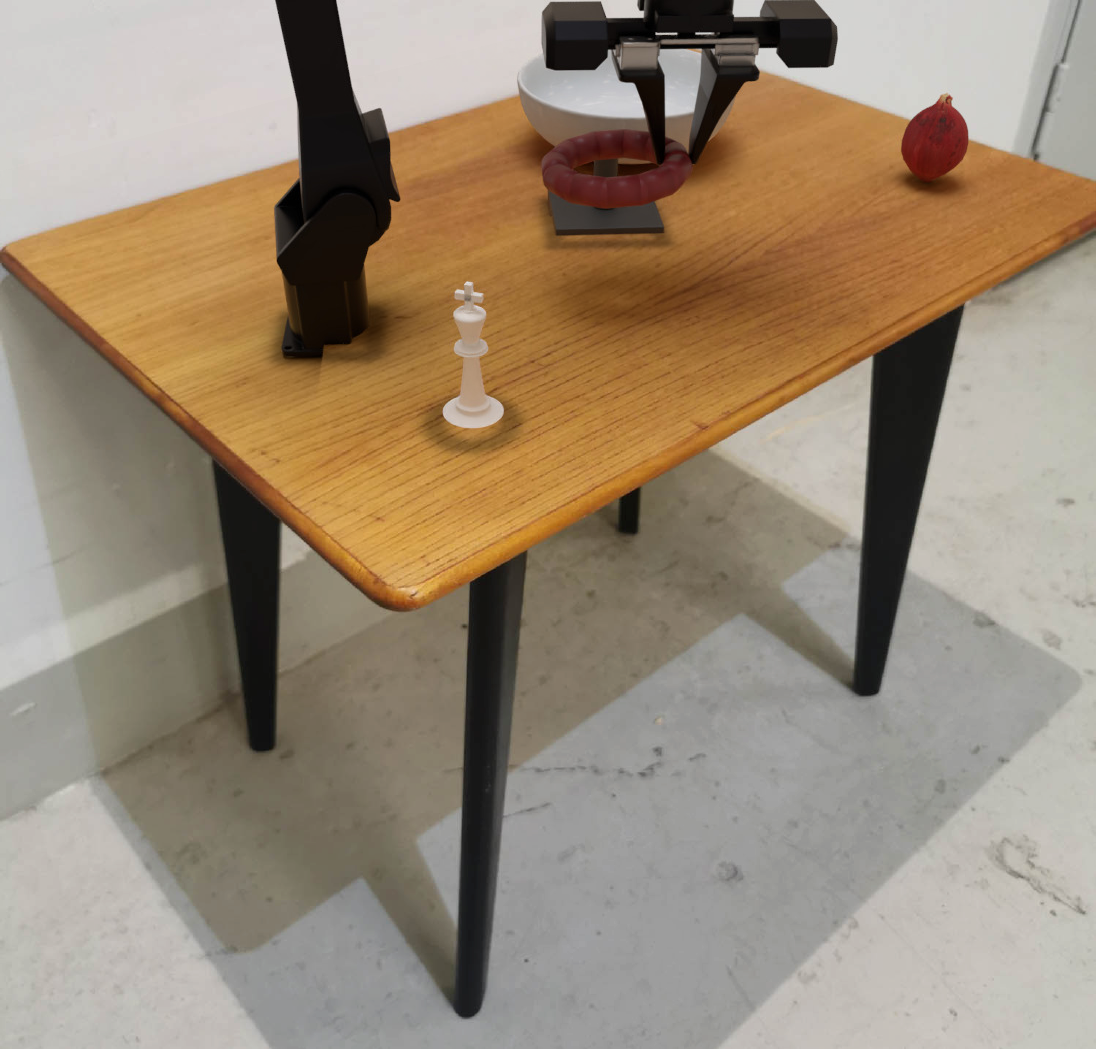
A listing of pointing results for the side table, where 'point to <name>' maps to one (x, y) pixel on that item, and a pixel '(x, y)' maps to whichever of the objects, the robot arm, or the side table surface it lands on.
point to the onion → (935, 140)
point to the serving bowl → (609, 99)
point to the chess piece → (471, 367)
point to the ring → (619, 188)
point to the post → (603, 213)
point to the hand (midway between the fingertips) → (675, 162)
